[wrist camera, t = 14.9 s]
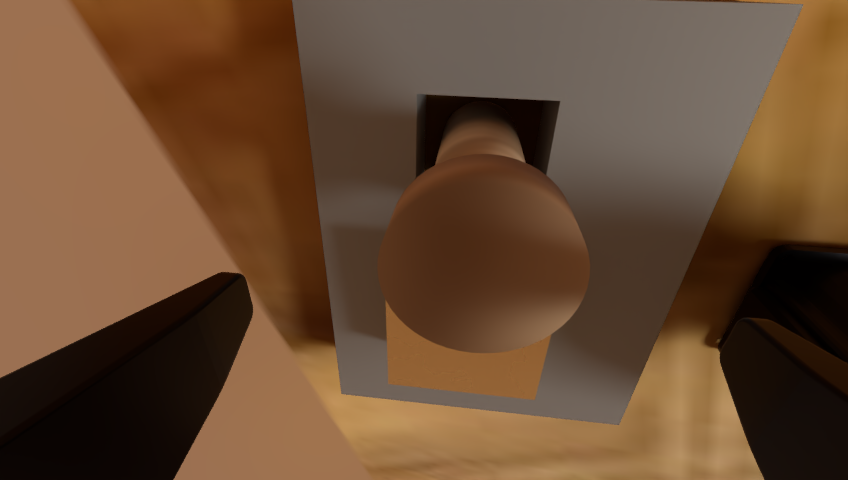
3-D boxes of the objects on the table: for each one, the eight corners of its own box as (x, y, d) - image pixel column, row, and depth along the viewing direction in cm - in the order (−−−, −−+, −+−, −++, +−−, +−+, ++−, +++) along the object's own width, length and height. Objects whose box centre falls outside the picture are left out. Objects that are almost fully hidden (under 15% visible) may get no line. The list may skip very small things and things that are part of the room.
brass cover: (554, 248, 15) (564, 281, 13) (529, 361, 18) (534, 399, 17) (394, 236, 16) (384, 266, 14) (396, 348, 19) (388, 384, 17)
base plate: (741, 1, 13) (803, 4, 11) (603, 376, 23) (618, 424, 20) (323, -10, 15) (290, -10, 12) (356, 351, 24) (341, 393, 21)
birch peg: (544, 85, 15) (615, 190, 7) (526, 192, 18) (565, 362, 10) (427, 79, 16) (373, 173, 8) (424, 185, 18) (380, 343, 10)
